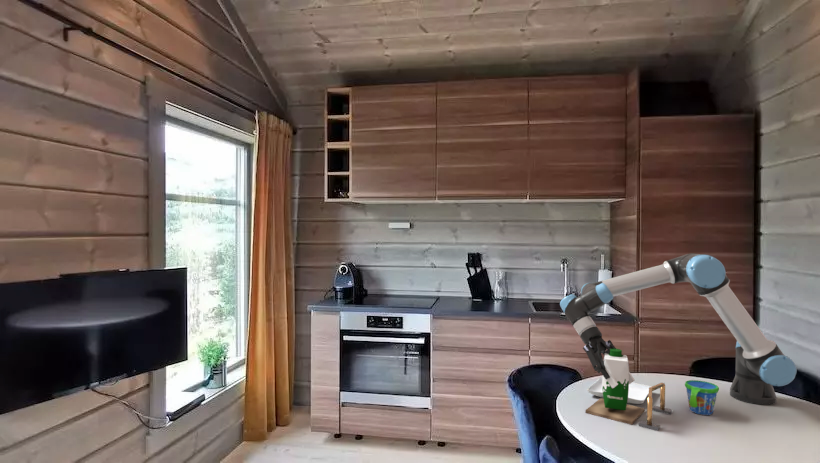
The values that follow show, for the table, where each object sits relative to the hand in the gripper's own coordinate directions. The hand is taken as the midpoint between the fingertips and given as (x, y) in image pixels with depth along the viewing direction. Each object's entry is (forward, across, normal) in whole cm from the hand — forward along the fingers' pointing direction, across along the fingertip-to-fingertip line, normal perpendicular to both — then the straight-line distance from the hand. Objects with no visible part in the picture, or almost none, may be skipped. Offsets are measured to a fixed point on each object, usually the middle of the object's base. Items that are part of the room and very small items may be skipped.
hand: (623, 384), depth 177 cm
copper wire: (+13, -7, -2) cm, 15 cm away
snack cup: (+17, -28, 0) cm, 33 cm away
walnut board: (+6, 0, -10) cm, 12 cm away
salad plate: (-2, -17, -18) cm, 25 cm away
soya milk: (+4, 0, -9) cm, 10 cm away
